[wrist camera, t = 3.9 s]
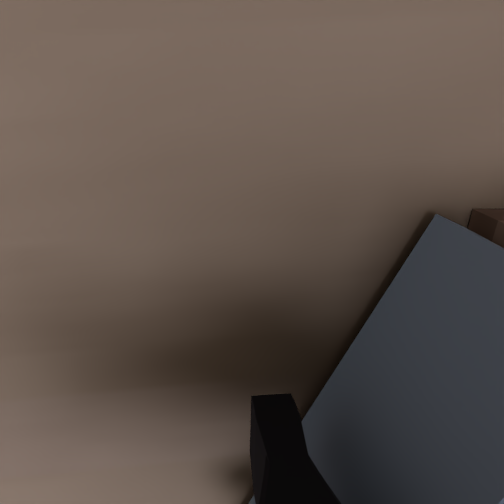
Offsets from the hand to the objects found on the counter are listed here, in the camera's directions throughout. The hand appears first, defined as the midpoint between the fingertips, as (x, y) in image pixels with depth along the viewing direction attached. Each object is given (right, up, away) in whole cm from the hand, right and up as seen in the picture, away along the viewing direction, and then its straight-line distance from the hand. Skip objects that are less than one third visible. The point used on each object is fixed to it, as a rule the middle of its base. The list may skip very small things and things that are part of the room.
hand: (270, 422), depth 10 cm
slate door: (+2, 0, +2) cm, 2 cm away
